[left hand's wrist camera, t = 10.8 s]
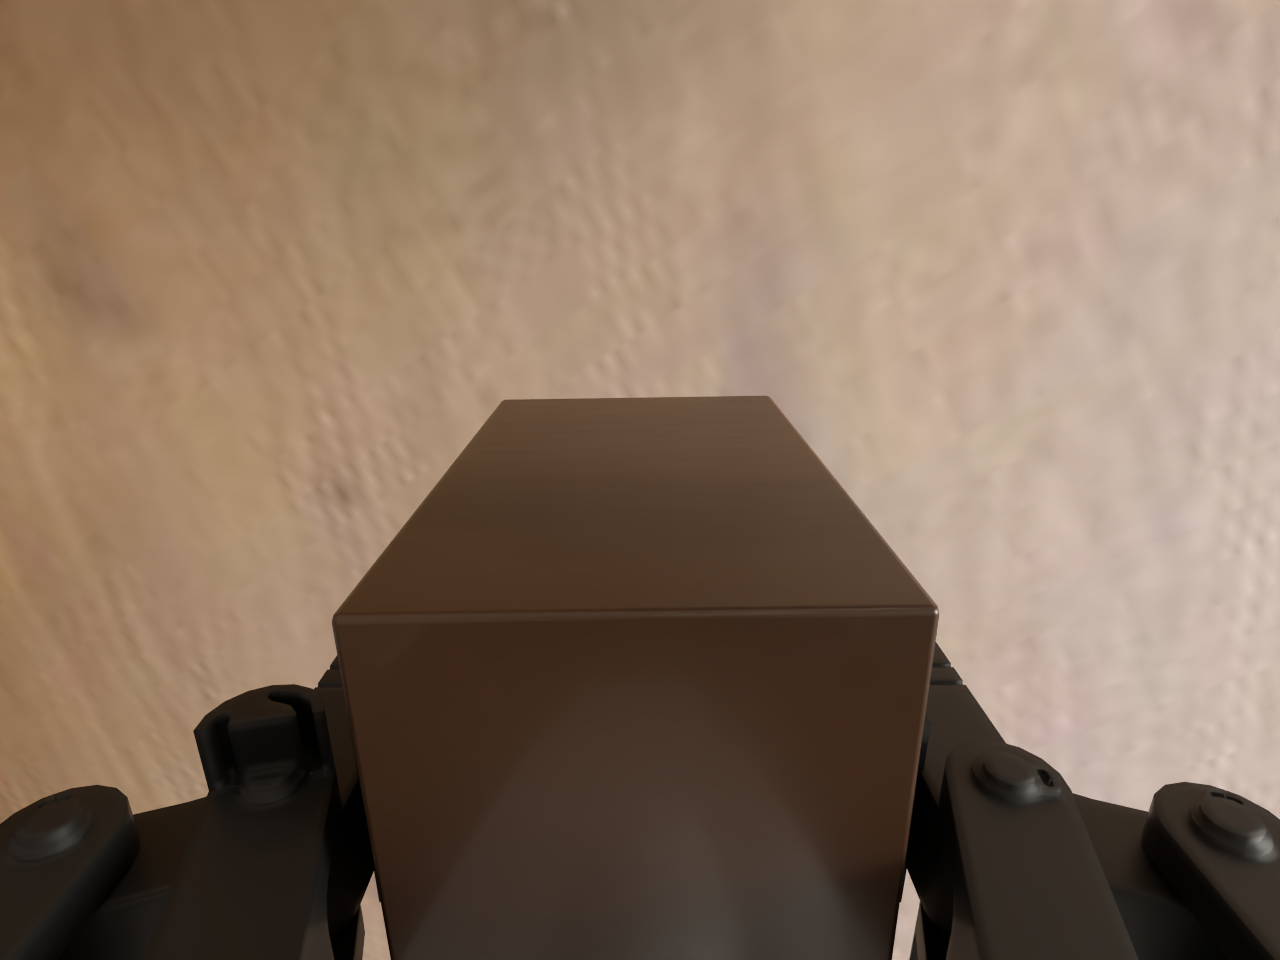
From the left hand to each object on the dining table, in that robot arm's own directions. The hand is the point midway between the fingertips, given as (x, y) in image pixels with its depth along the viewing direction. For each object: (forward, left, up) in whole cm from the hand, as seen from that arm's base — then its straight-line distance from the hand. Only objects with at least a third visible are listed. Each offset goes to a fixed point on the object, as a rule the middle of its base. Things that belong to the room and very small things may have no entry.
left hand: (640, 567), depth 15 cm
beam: (+13, 0, 0) cm, 13 cm away
